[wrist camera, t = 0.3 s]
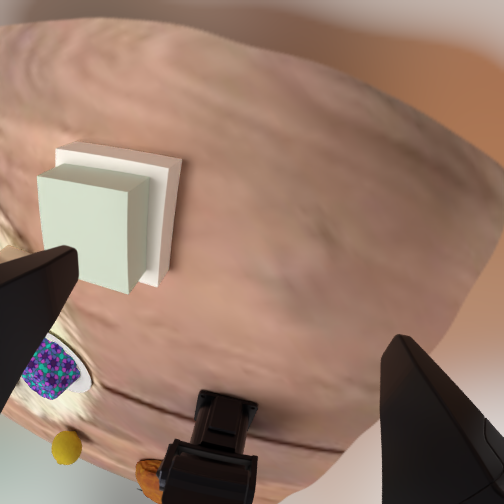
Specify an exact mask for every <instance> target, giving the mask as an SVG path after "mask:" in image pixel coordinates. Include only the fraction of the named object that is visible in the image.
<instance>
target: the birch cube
mask: <svg viewBox="0 0 504 504" xmlns="http://www.w3.org/2000/svg"><path fill="white" fill-rule="evenodd" d="M30 254H31V253H28V252H26V251H23V250H20V249H18V248H15V247H13V246H10V245H7V246H6V247H5V248H4V249H2V250H1V251H0V263H4V262H7V261H10V260H13V259H17V258H20V257H23V256H27V255H30Z"/></svg>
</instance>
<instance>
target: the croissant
mask: <svg viewBox="0 0 504 504" xmlns="http://www.w3.org/2000/svg"><path fill="white" fill-rule="evenodd" d="M161 463H162V461H159V460H145V461H139V462H137V464H136V478H137V481H138V483H139V485H140V487H141V488H142V490H143V493H144V494H145V496H146V497H148V498H150V499H151V500H153V501H154V502H156V503H158V504H162V502H161V498H162V494H163V491H160V490H159V479H158V478H157V476H156V472H157V470H158V468H159V466H160V465H161Z"/></svg>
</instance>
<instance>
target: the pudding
mask: <svg viewBox="0 0 504 504" xmlns="http://www.w3.org/2000/svg"><path fill="white" fill-rule="evenodd" d="M46 337H47V338H49V339H51V340H53V341H54V342H50V341H49V340H47V339H46V338H44V340H43V341H42V343H41V344H40V346H39V348H38V349H37V351H36V352H35V354H34V356H33V357H32V359H31V360H30V362H29V364H28V365H27V367H26V369H25V370H24V372H23V374H22V378H23V379H24V381H25V382H26V383H27V384H28V386H29V387H30V388H31V389H32V390H34V391H35V392H37V393H38V394H39V395H40V396H42V397H44V398H48V399H51V400H53V399H55V398H57V397H58V396H59V395H60V394H62V393H63V392H64V391H65V390H69V391H73V392H79V393H82V392H86V391H88V390H89V389H90V388H91V378H90V375H89V373H88V371H87V369H86V368H85V366H84V365H83V363H82V362H81V361H80V359H79V358H78V357H77V356H76V355H75V354H74V353H73V352H72V351H71V350H70V349H69V348H68V347H67V346H66V345H65V344H64V343H62V342H61V341H60V340H59V339H57V338H56V337H54V336H53V335H51V334H50V333H47V335H46ZM55 342H56V343H57V344H56V343H55ZM58 344H59V345H60V346H61V347H60V346H59V345H58ZM63 348H64V349H65V350H66V351H67V352H68V353H69V354H70V355H71V356H72V357H71V356H69V355H68V354H66V353H65V351H64V350H63ZM74 360H75V361H74ZM76 363H77V364H76ZM76 365H78V367H79V369H80V371H79V370H78V369H77V368H76ZM80 372H81V377H80ZM79 377H80V379H79V380H78V381H76V380H77V379H78V378H79Z"/></svg>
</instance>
